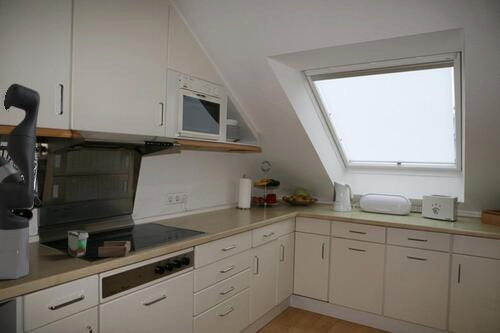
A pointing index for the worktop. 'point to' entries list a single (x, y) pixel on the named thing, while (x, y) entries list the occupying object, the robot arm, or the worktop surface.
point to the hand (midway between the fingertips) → (34, 205)
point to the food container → (77, 243)
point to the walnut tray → (114, 249)
